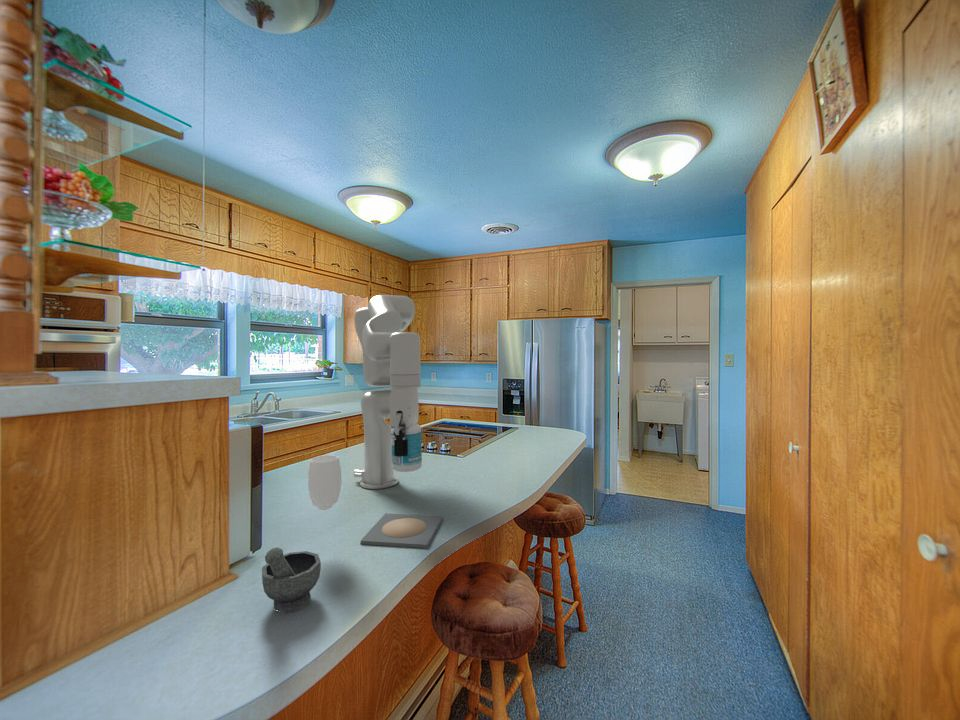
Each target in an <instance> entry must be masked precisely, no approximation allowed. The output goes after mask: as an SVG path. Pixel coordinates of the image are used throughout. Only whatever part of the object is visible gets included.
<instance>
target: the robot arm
mask: <svg viewBox="0 0 960 720" xmlns="http://www.w3.org/2000/svg"><path fill="white" fill-rule="evenodd" d="M367 304H368V305H367V306H365V307H360V308H359V309H357V310H356V311H355V313H354V318H353V319H354V328H355V333H356V335H357V338H358V340H359V342H360V346H361V351H362V365H363V378H364V382H365V384H366V386H368V387H373V388H377V387H378V388H379V387H383V388H384V387H390V388H391V389H381V390H380V389H379V390H376V389H375V390H371V391H366V393H364V394H363V395H362V396H361V399H360V408H361V413H362V422H363V441H364V442H363V444H364V445H363V449H364V453H363V456H364V460H363V461H364V464H363V465H364V468H363V470H361V469H354V471H353V476H354V478H360V481H359V485H360V486H361V488H364V489H368V490H369V489H370V490H379V489H380V490H381V489H387V488H390V487H394V486H395V485H397V484H398V482H399V478H398V476H396V475H394V469H393V468H392V445H391V429H392V428H393V430H394V455H395V456H407V455H408V439H406V437H407V429H408V428H410V427H411V426H412V425H413V423H414V422H415V423H417V424H418V422H419V415H420V413H419V412H420V411H419V410H420V407H419V391H418V388H421V385H422V384H421V383H422V382H421V377H422V376H421V337H420V335H419V334H418V333H417V332H412V331H406V329H408V327H409V325H411V323H412V321H413V320H414V318H415V313H416V307H415V304H414V301H413V300H412V299H411V297H409V296H407V295H395V294H378V295H375V296H373V297H371V298H370V300H369V302H368V303H367ZM414 417H415V418H416V419H415V421H414ZM386 419H389V423H388V422H387V421H386ZM400 425H405V427H403V426H400ZM402 430H404V433H403V432H402Z"/></svg>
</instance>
